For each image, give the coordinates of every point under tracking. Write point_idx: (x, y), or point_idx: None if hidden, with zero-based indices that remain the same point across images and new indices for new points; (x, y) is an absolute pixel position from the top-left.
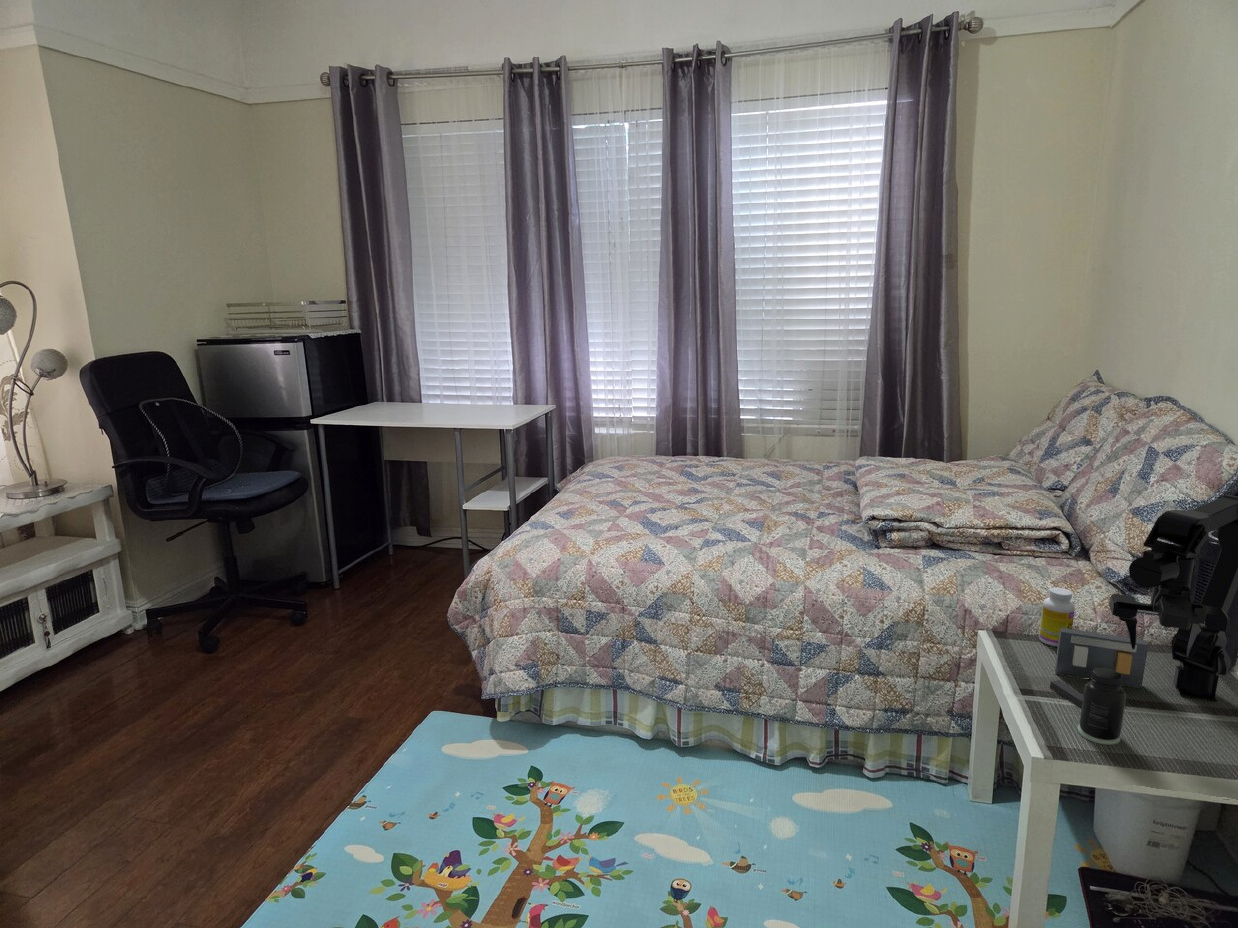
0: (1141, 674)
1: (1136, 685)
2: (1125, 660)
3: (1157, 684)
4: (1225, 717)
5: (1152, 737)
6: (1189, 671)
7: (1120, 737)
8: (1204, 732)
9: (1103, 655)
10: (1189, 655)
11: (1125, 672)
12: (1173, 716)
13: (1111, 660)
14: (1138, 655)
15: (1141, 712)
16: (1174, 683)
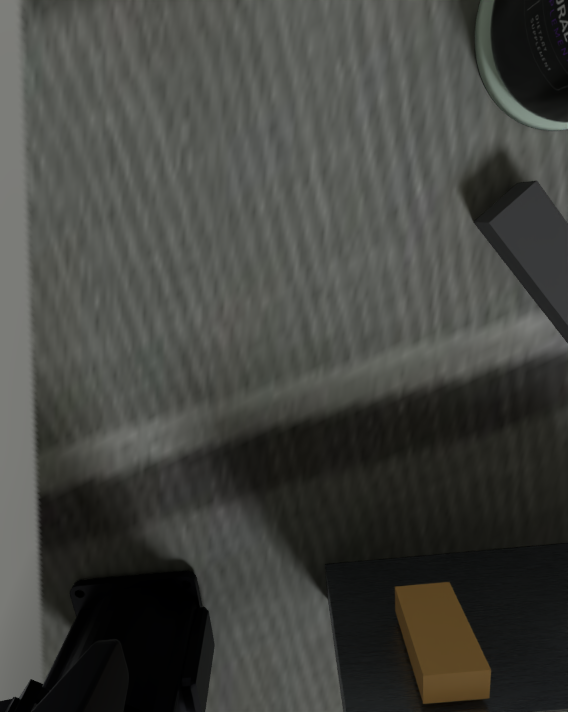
0: (340, 614)
1: (344, 570)
2: (444, 646)
3: (266, 620)
4: (46, 478)
5: (325, 136)
6: (151, 687)
7: (484, 7)
8: (117, 306)
9: (534, 661)
10: (97, 659)
11: (414, 590)
12: (226, 392)
13: (484, 645)
14: (384, 707)
15: (345, 365)
16: (211, 635)
